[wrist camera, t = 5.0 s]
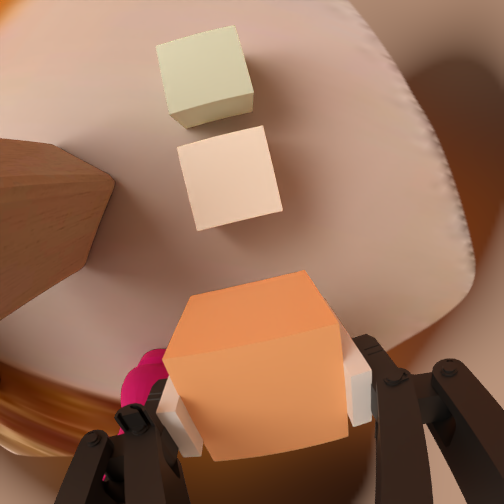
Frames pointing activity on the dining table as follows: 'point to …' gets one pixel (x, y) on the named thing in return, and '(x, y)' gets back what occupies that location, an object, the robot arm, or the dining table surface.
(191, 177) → the cream cube
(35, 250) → the wooden block
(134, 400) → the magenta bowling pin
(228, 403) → the orange cube
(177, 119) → the sage cube
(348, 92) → the dining table surface
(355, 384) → the robot arm
